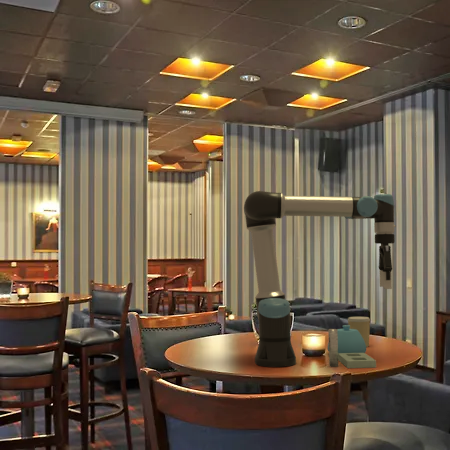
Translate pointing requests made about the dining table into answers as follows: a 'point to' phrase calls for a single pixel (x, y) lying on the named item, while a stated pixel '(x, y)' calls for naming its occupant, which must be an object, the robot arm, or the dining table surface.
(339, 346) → the sugar bowl
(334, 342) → the grey stone block
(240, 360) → the dining table surface
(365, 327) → the coffee cup
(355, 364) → the hole board
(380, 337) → the dining table surface
